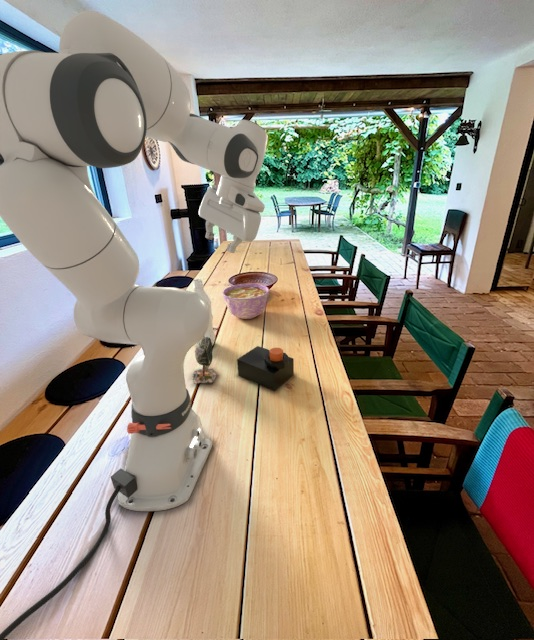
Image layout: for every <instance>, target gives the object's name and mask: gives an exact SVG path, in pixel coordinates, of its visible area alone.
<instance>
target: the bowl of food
mask: <svg viewBox="0 0 534 640" xmlns="http://www.w3.org/2000/svg"><path fill="white" fill-rule="evenodd" d="M269 292H270V289H269V287H268V286H266V285H264V284H259V283H238V284H234V285H230V286H227V287H226V288H225V289H223V290H222V296H223V298H224V301H225V304H226V308H227V310H228V312H229V313H230V314H231V315H233V316H234V317H236V318H239V319H242V320H251V319H254V318H256V317H258V316H260V315H262V314H263V312H264V311H265V309H266V306H267V302H268V297H269Z"/></svg>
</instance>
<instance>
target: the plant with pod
mask: <svg viewBox="0 0 534 640" xmlns="http://www.w3.org/2000/svg"><path fill="white" fill-rule="evenodd" d="M194 357H195V360H196V362H197V363H198V365H200V366H202V368H201V369H198V370H194V372H193V374H192V376H191V378H192V380H193V385H199V384H200V383H201V384H208V385H211V384H213V383H214V382H215V379H216V378H217V377H218V373H217V372H216V371H215V369H214V368H210V367H211V365H212V362H213V360H214V359H213V357H214V355H213V346H212V343H211V339H210V338H209V337H204V338H202V339H201V340H200V342H199V343H198V344H197V345H196V347H195V350H194Z"/></svg>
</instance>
